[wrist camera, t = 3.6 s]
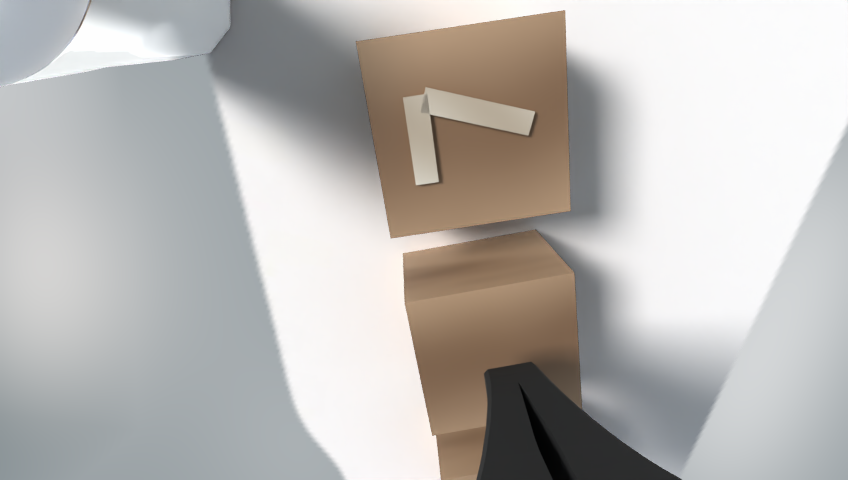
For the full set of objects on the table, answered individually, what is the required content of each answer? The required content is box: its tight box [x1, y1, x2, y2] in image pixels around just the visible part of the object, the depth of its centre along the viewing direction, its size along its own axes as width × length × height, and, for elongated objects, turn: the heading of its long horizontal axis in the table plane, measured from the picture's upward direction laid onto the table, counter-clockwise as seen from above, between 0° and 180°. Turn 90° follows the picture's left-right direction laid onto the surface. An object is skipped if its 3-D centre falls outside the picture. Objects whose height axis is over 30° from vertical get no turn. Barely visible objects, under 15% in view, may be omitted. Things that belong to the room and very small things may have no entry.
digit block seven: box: [356, 10, 571, 238], centre depth 13 cm, size 5×5×4 cm
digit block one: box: [436, 426, 486, 480], centre depth 18 cm, size 5×5×4 cm
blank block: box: [403, 230, 582, 436], centre depth 16 cm, size 5×5×4 cm
